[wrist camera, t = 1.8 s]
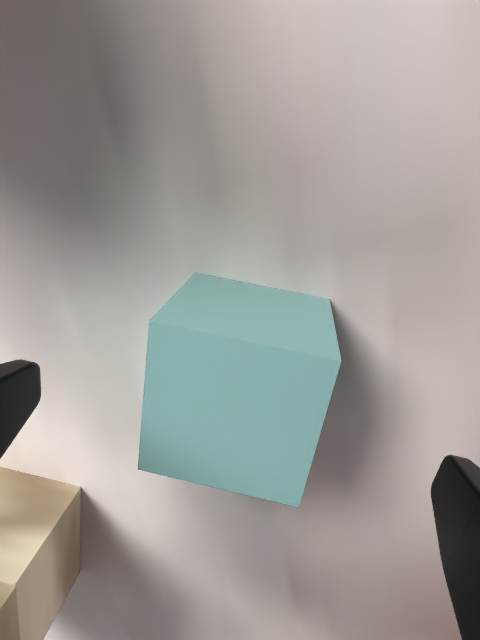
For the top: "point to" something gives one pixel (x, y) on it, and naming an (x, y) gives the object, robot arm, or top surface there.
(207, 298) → the teal cube
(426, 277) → the top surface
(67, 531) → the birch lower block
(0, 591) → the birch upper block
